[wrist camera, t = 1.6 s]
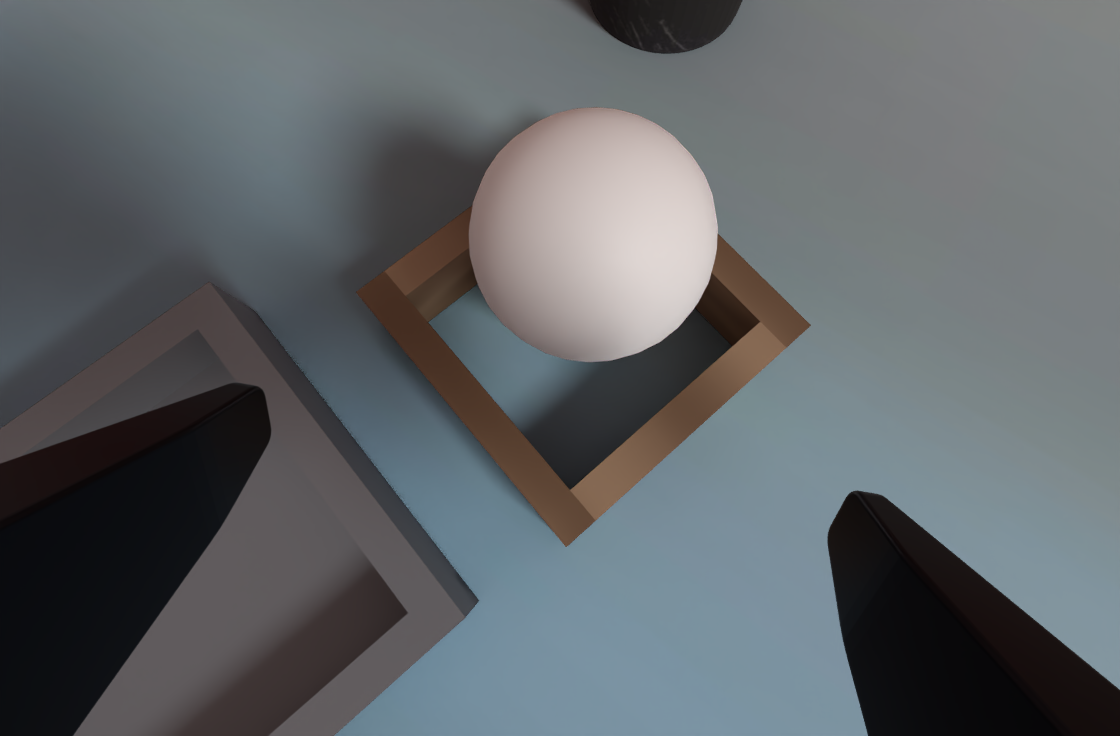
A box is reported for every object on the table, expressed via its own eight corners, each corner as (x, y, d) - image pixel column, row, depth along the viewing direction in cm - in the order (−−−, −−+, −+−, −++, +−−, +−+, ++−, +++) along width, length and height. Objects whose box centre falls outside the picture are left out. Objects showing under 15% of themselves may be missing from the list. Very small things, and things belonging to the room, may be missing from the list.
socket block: (564, 541, 20) (566, 547, 17) (382, 320, 22) (356, 292, 19) (776, 349, 22) (810, 325, 19) (590, 161, 24) (595, 113, 21)
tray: (62, 974, 17) (-42, 1073, 14) (-138, 596, 19) (-261, 612, 16) (478, 600, 19) (465, 617, 16) (255, 311, 22) (208, 281, 19)
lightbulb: (555, 443, 21) (555, 376, 10) (471, 313, 22) (391, 128, 11) (688, 357, 22) (819, 211, 11) (600, 236, 23) (639, -3, 12)
